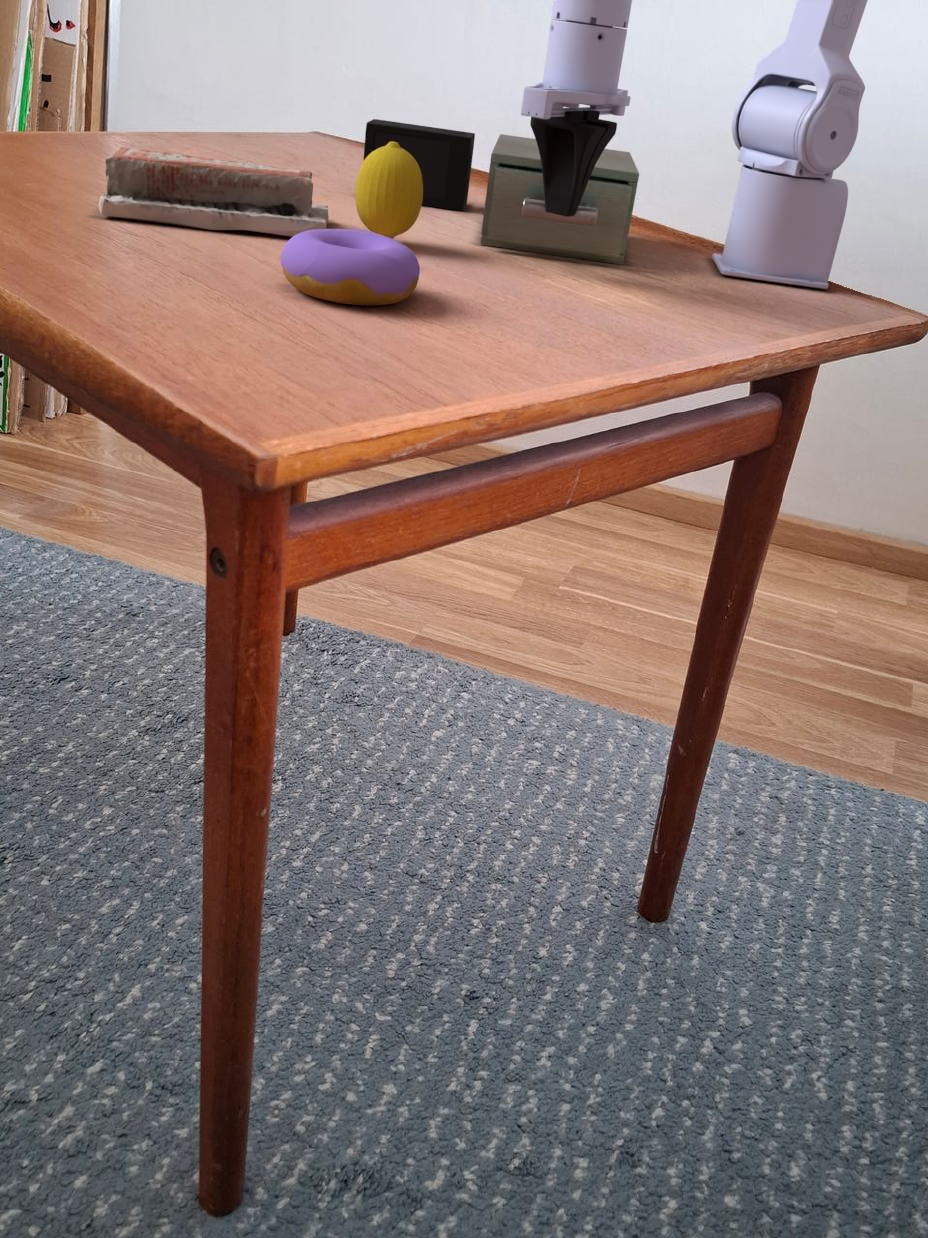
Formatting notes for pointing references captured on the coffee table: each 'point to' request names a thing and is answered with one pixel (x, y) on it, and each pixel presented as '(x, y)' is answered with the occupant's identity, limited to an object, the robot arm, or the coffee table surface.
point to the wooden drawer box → (528, 156)
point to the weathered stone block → (209, 193)
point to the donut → (350, 266)
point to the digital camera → (430, 158)
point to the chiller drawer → (529, 224)
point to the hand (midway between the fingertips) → (560, 213)
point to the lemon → (389, 191)
